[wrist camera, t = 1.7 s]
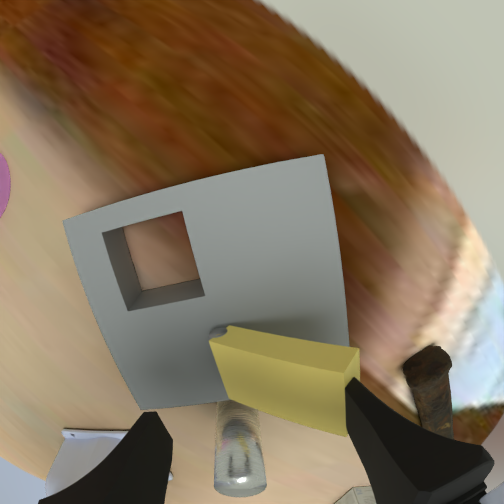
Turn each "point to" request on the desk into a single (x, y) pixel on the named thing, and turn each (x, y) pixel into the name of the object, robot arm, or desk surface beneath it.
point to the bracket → (4, 184)
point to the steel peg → (238, 451)
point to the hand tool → (431, 389)
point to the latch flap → (286, 375)
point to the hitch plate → (215, 275)
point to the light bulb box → (358, 496)
